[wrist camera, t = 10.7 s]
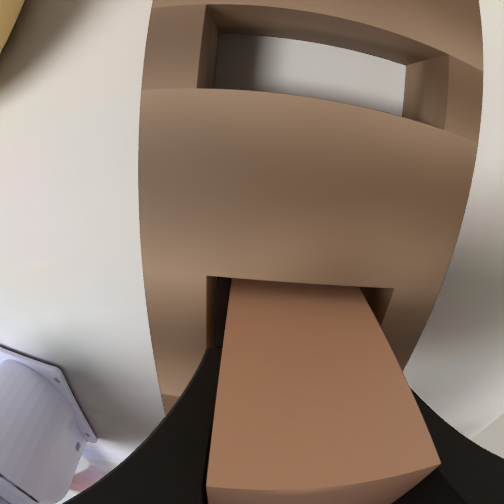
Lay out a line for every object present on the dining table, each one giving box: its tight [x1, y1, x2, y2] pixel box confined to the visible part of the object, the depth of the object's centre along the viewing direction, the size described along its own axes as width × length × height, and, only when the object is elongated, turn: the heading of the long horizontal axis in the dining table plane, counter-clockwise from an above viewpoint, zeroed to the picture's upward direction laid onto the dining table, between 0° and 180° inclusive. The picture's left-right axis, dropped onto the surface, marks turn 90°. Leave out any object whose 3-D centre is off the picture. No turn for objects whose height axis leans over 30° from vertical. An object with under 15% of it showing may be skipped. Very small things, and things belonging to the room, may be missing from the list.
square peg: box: [206, 278, 441, 504], centre depth 8 cm, size 4×4×8 cm
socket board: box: [138, 0, 483, 415], centre depth 10 cm, size 20×10×3 cm, turn 175°
